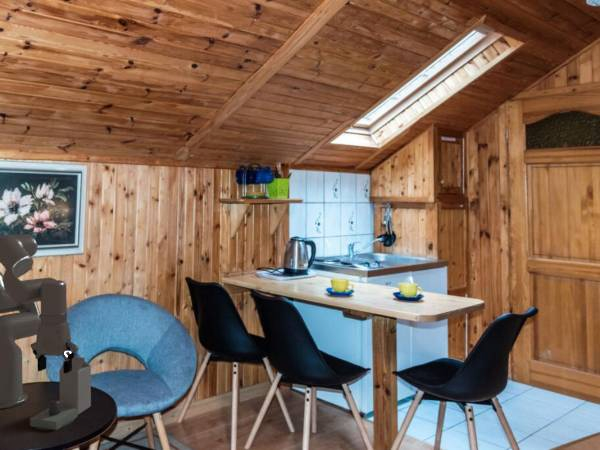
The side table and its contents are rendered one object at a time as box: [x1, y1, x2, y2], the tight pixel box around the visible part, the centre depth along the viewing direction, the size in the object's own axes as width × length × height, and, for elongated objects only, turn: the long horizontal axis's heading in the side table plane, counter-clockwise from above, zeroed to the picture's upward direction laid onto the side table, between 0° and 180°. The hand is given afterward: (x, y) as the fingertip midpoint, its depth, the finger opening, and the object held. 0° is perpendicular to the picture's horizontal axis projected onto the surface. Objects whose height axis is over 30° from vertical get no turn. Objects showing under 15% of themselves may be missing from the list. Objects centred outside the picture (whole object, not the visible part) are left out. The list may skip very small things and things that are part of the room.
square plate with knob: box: [29, 399, 78, 431], centre depth 158 cm, size 10×10×7 cm
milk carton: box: [58, 356, 92, 415], centre depth 168 cm, size 7×7×19 cm
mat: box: [34, 419, 75, 431], centre depth 159 cm, size 12×12×1 cm
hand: (54, 371), depth 158 cm, fingers open, 9 cm apart
